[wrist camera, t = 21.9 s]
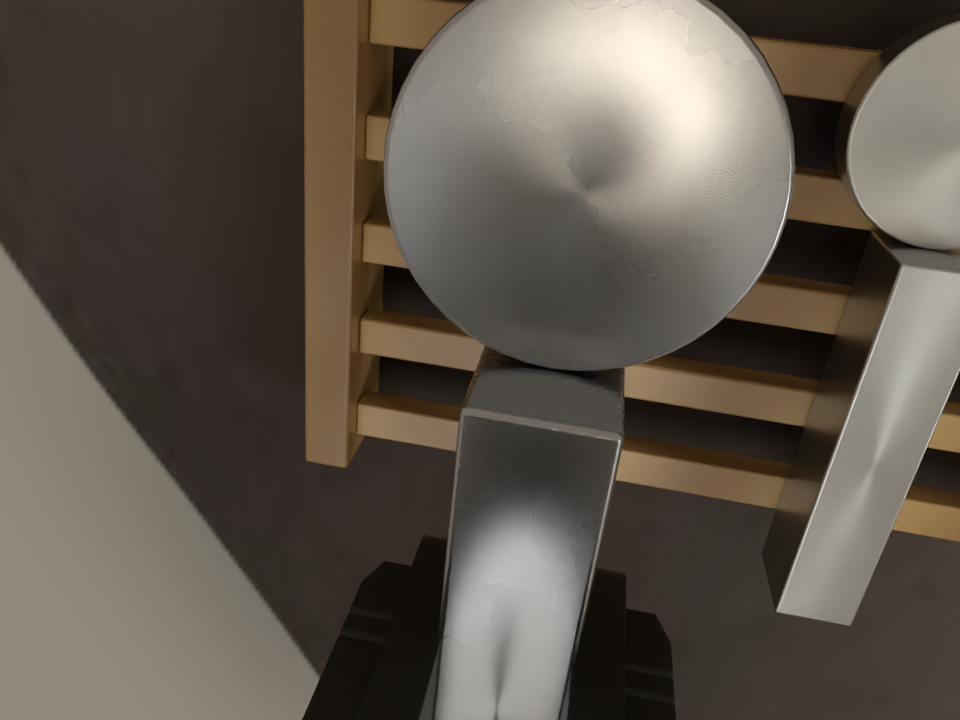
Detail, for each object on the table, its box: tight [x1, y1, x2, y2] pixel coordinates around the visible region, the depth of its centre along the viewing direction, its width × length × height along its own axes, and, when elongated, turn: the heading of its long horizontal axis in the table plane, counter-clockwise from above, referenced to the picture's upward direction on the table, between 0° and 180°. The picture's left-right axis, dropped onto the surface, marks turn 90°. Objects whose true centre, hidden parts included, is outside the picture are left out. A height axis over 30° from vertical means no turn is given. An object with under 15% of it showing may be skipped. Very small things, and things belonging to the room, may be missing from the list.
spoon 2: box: [762, 13, 960, 626], centre depth 17 cm, size 13×4×2 cm, turn 174°
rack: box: [304, 0, 960, 542], centre depth 19 cm, size 20×12×3 cm, turn 84°
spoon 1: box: [383, 0, 795, 720], centre depth 10 cm, size 13×4×2 cm, turn 174°
